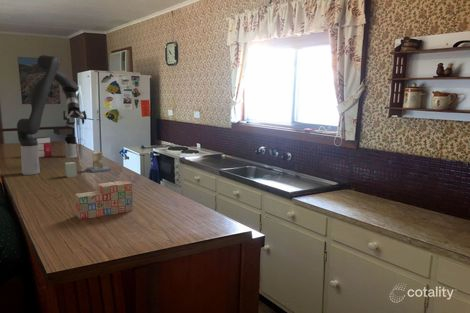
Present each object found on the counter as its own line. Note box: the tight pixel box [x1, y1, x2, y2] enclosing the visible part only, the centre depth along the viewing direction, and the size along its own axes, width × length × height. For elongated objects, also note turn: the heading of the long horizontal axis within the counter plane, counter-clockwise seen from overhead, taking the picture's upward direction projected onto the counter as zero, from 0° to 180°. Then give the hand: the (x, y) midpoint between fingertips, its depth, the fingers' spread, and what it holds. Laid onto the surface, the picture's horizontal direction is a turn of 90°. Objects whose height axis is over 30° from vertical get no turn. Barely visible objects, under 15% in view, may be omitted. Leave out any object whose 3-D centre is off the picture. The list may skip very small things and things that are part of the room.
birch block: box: [91, 151, 104, 169], centre depth 242 cm, size 5×5×10 cm
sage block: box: [64, 161, 78, 178], centre depth 224 cm, size 5×5×8 cm
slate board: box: [85, 164, 112, 174], centre depth 243 cm, size 11×13×2 cm
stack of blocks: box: [75, 180, 134, 220], centre depth 156 cm, size 21×6×12 cm, turn 125°
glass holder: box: [64, 136, 85, 158], centre depth 292 cm, size 9×14×15 cm, turn 115°
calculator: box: [33, 136, 52, 159], centre depth 288 cm, size 11×4×15 cm, turn 143°
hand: (76, 123), depth 250 cm, fingers open, 8 cm apart
